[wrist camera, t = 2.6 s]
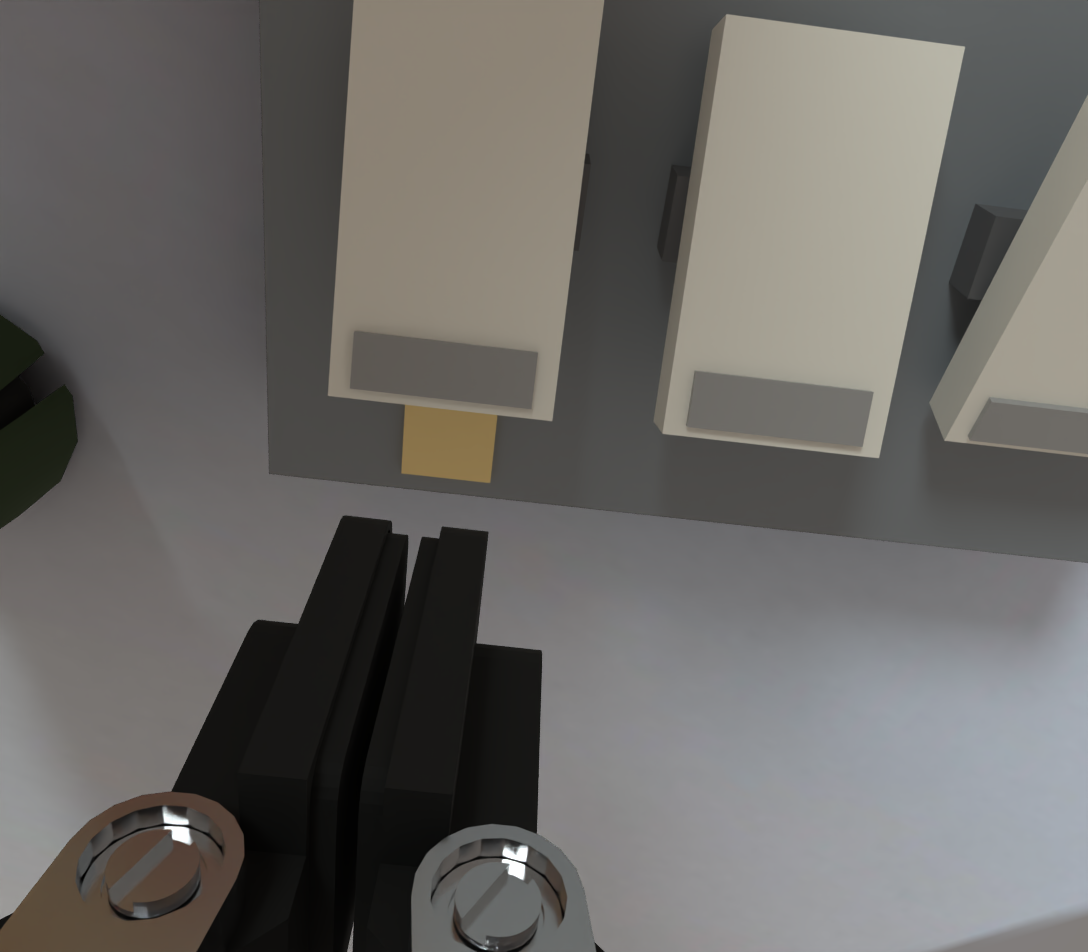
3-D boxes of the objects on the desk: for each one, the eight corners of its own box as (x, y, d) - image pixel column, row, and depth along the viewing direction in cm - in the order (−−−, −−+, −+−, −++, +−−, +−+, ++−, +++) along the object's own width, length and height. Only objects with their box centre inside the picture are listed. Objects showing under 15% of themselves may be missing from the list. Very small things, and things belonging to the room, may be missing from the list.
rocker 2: (711, 29, 17) (728, 11, 15) (934, 59, 17) (969, 45, 16) (653, 421, 18) (663, 435, 17) (856, 444, 19) (882, 459, 17)
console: (310, -258, 18) (234, -323, 14) (1297, -112, 19) (1514, -129, 15) (308, 400, 25) (257, 495, 21) (1041, 483, 26) (1139, 590, 22)
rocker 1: (367, -18, 16) (354, -39, 15) (598, 13, 17) (605, -5, 15) (340, 386, 18) (326, 397, 17) (550, 409, 18) (552, 423, 17)
